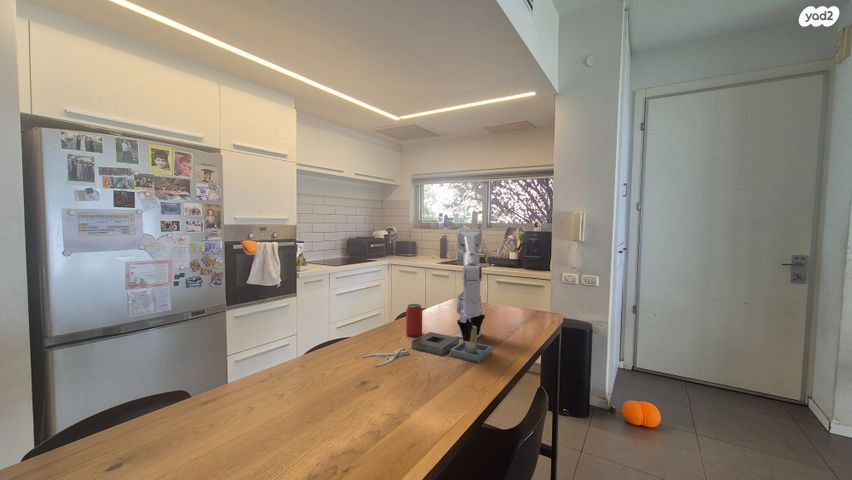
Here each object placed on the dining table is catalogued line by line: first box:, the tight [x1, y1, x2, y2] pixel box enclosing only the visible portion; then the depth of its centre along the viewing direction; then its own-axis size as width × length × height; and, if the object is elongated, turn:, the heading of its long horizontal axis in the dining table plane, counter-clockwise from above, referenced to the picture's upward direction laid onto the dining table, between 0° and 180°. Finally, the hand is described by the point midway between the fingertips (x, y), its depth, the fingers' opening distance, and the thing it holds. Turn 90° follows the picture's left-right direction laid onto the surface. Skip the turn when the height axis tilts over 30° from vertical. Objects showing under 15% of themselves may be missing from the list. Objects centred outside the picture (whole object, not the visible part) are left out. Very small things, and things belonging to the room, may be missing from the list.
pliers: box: [362, 347, 410, 368], centre depth 119 cm, size 10×2×15 cm
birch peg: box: [465, 326, 478, 354], centre depth 121 cm, size 4×4×9 cm
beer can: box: [405, 303, 423, 337], centre depth 142 cm, size 7×7×12 cm
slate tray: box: [449, 340, 493, 364], centre depth 121 cm, size 11×11×2 cm
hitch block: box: [411, 331, 460, 356], centre depth 129 cm, size 13×13×2 cm
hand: (471, 337), depth 121 cm, fingers open, 7 cm apart
